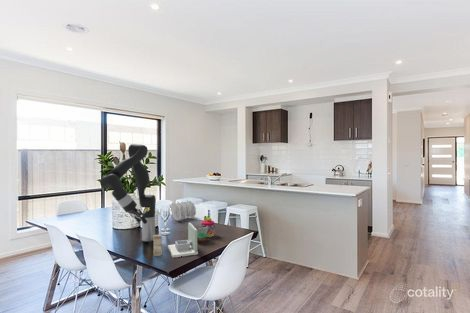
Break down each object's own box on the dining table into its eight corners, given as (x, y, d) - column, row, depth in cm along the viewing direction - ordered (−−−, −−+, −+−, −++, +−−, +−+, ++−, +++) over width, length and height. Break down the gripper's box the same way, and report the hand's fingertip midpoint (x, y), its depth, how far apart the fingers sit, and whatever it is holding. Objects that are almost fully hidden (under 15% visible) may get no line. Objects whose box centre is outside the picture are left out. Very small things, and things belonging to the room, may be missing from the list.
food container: (196, 244, 192) (196, 230, 192) (192, 241, 197) (192, 228, 197) (211, 240, 199) (211, 227, 199) (207, 238, 204) (207, 225, 204)
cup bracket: (167, 247, 185) (167, 224, 185) (191, 244, 191) (191, 222, 191) (172, 257, 167) (172, 232, 166) (198, 254, 172) (198, 229, 172)
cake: (217, 235, 213) (217, 216, 213) (207, 238, 205) (207, 218, 205) (208, 232, 220) (208, 214, 220) (198, 235, 212) (198, 216, 212)
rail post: (153, 253, 173) (153, 235, 173) (160, 252, 175) (160, 234, 175) (154, 256, 169) (154, 237, 169) (161, 255, 171) (161, 236, 171)
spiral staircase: (195, 221, 272) (175, 225, 253) (185, 211, 283) (165, 214, 263) (201, 206, 268) (181, 208, 249) (191, 196, 278) (171, 198, 259)
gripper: (136, 198, 159) (152, 218, 164) (127, 197, 169) (142, 216, 175) (126, 207, 154) (143, 228, 160) (117, 206, 164) (133, 225, 170)
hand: (142, 222), depth 167 cm, fingers open, 8 cm apart
